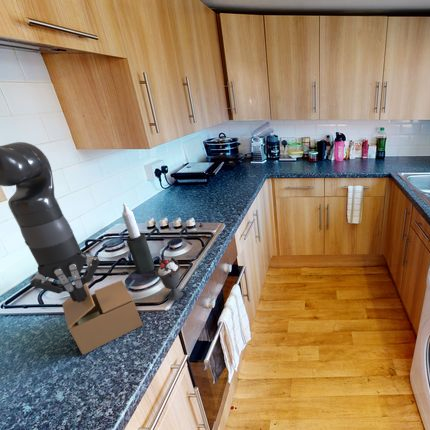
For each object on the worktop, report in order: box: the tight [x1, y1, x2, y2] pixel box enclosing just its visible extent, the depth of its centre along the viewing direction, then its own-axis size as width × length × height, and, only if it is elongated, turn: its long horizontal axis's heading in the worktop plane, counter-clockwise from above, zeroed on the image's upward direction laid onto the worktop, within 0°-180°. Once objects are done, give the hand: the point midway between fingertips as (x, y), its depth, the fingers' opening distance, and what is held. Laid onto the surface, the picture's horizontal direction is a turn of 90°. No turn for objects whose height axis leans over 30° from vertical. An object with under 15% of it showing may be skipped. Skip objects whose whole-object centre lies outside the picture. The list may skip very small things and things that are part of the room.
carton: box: [68, 279, 144, 356], centre depth 74 cm, size 13×11×9 cm
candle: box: [122, 203, 155, 275], centre depth 94 cm, size 5×5×25 cm
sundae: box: [154, 257, 184, 302], centre depth 84 cm, size 7×7×15 cm
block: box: [77, 311, 100, 325], centre depth 73 cm, size 4×4×4 cm
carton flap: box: [61, 283, 95, 329], centre depth 69 cm, size 6×11×1 cm, turn 44°
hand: (81, 299), depth 69 cm, fingers closed
